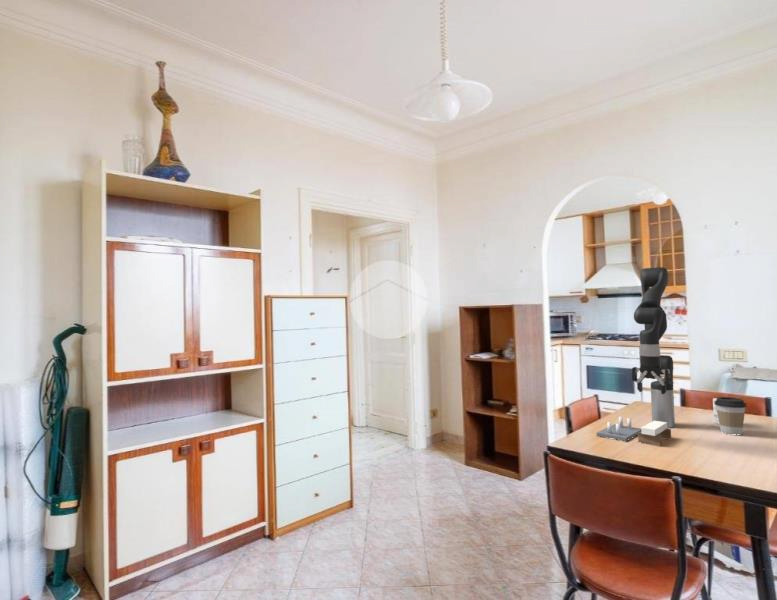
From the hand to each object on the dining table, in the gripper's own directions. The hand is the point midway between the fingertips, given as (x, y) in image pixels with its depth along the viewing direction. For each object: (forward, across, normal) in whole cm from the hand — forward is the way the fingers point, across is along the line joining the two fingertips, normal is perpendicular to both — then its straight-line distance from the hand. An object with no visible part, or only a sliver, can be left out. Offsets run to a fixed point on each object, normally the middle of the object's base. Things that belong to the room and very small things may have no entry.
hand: (651, 392), depth 185 cm
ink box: (+21, -15, -49) cm, 56 cm away
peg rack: (+20, +14, 0) cm, 24 cm away
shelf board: (+16, 0, 0) cm, 16 cm away
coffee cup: (+21, -20, -34) cm, 45 cm away
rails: (+20, 0, 0) cm, 20 cm away
